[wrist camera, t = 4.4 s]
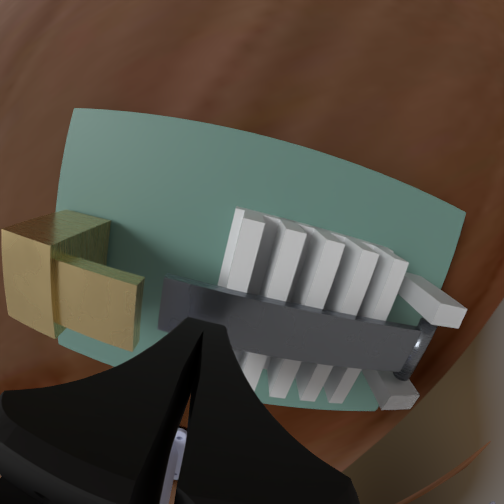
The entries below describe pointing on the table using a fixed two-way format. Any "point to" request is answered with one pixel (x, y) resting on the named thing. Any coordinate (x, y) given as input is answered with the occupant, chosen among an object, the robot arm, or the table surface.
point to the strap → (296, 328)
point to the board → (261, 239)
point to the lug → (70, 279)
